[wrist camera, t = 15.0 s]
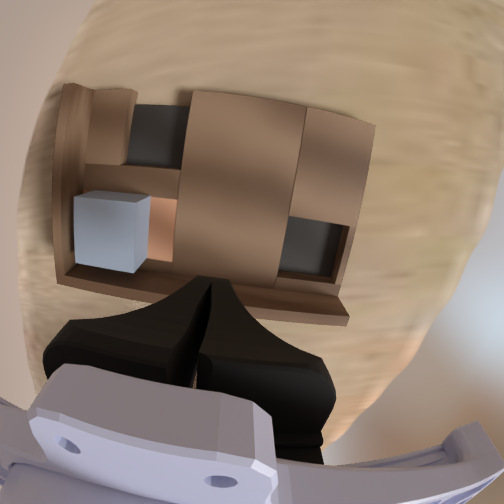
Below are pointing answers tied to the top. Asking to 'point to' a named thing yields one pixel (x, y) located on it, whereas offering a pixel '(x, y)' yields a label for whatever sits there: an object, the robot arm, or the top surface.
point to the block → (111, 229)
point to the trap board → (218, 196)
